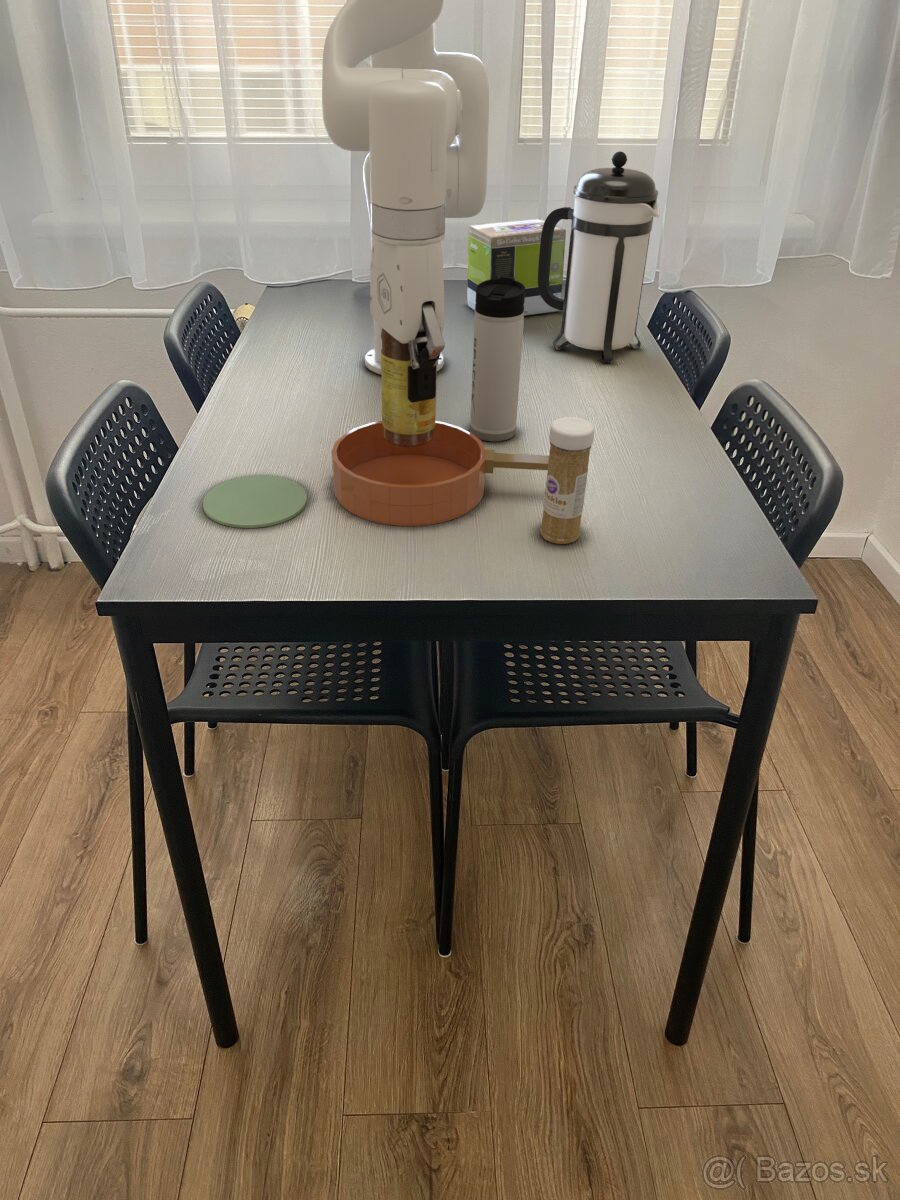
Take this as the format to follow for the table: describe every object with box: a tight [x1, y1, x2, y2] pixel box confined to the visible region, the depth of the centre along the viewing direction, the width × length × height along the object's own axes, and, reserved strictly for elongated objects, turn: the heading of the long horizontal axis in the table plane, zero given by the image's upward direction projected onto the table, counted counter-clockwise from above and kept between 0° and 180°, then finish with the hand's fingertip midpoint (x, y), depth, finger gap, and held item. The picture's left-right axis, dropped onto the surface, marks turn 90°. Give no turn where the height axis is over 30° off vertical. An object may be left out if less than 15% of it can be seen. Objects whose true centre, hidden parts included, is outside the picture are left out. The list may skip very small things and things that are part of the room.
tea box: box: [466, 218, 567, 317], centre depth 160 cm, size 15×10×15 cm
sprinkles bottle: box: [539, 416, 595, 545], centre depth 95 cm, size 5×5×13 cm
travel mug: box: [469, 276, 525, 443], centre depth 115 cm, size 6×7×20 cm
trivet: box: [202, 474, 308, 529], centre depth 103 cm, size 12×12×1 cm
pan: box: [331, 420, 486, 527], centre depth 106 cm, size 18×18×5 cm
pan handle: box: [484, 448, 549, 475], centre depth 104 cm, size 11×3×2 cm, turn 86°
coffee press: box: [538, 151, 661, 364], centre depth 140 cm, size 17×16×30 cm
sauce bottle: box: [380, 270, 438, 447], centre depth 98 cm, size 6×6×20 cm
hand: (408, 386), depth 100 cm, fingers closed on sauce bottle, 6 cm apart
